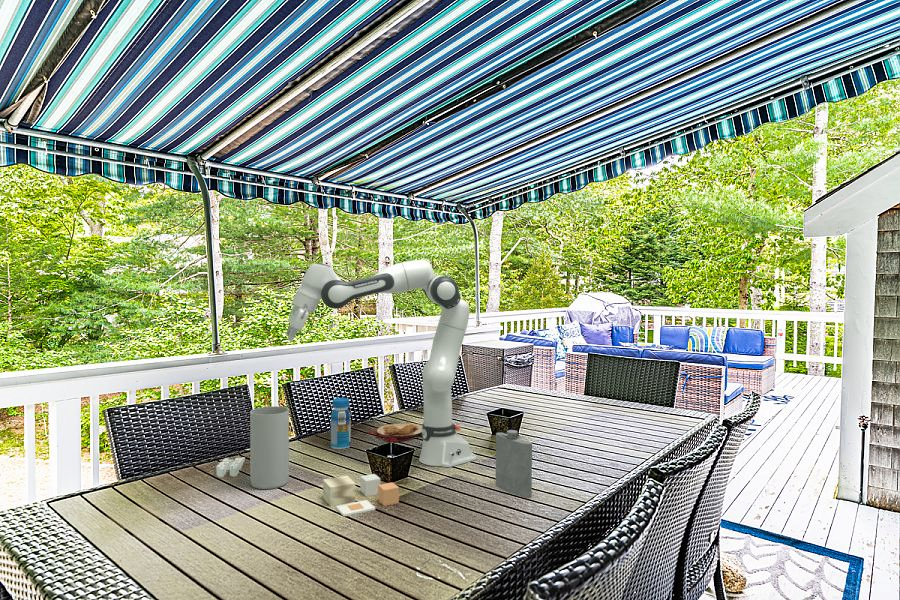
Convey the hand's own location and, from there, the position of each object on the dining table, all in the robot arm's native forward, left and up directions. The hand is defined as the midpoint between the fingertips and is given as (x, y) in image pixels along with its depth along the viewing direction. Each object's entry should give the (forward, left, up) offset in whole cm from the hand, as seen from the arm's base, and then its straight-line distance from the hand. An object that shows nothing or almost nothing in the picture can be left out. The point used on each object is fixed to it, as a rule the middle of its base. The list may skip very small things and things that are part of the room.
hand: (288, 338), depth 202 cm
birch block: (-7, +36, -48) cm, 61 cm away
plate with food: (-57, -26, -49) cm, 80 cm away
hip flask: (-60, +56, -49) cm, 95 cm away
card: (-9, +46, -48) cm, 67 cm away
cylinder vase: (+9, +11, -49) cm, 51 cm away
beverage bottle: (-26, -18, -49) cm, 58 cm away
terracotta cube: (-20, +45, -48) cm, 69 cm away
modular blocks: (+18, -11, -49) cm, 53 cm away
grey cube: (-18, +35, -48) cm, 62 cm away
